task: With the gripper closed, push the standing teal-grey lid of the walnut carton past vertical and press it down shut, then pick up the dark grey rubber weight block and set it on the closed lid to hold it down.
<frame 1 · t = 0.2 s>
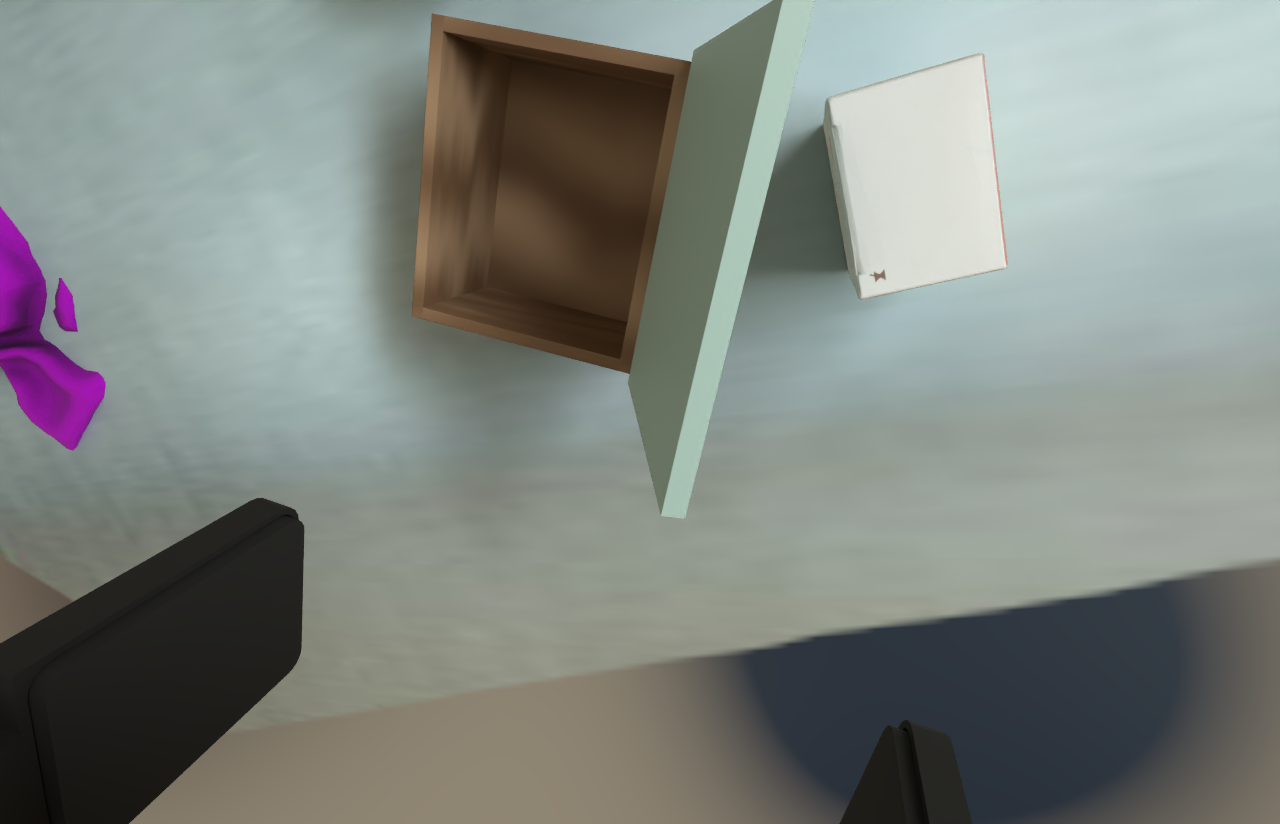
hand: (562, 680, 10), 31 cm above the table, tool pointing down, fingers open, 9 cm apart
small box: (888, 185, 35), on the table
cloth: (15, 308, 53), on the table
carton: (588, 199, 39), on the table
lid: (689, 256, 24), point 14 cm above the table, hinge at 110.0°
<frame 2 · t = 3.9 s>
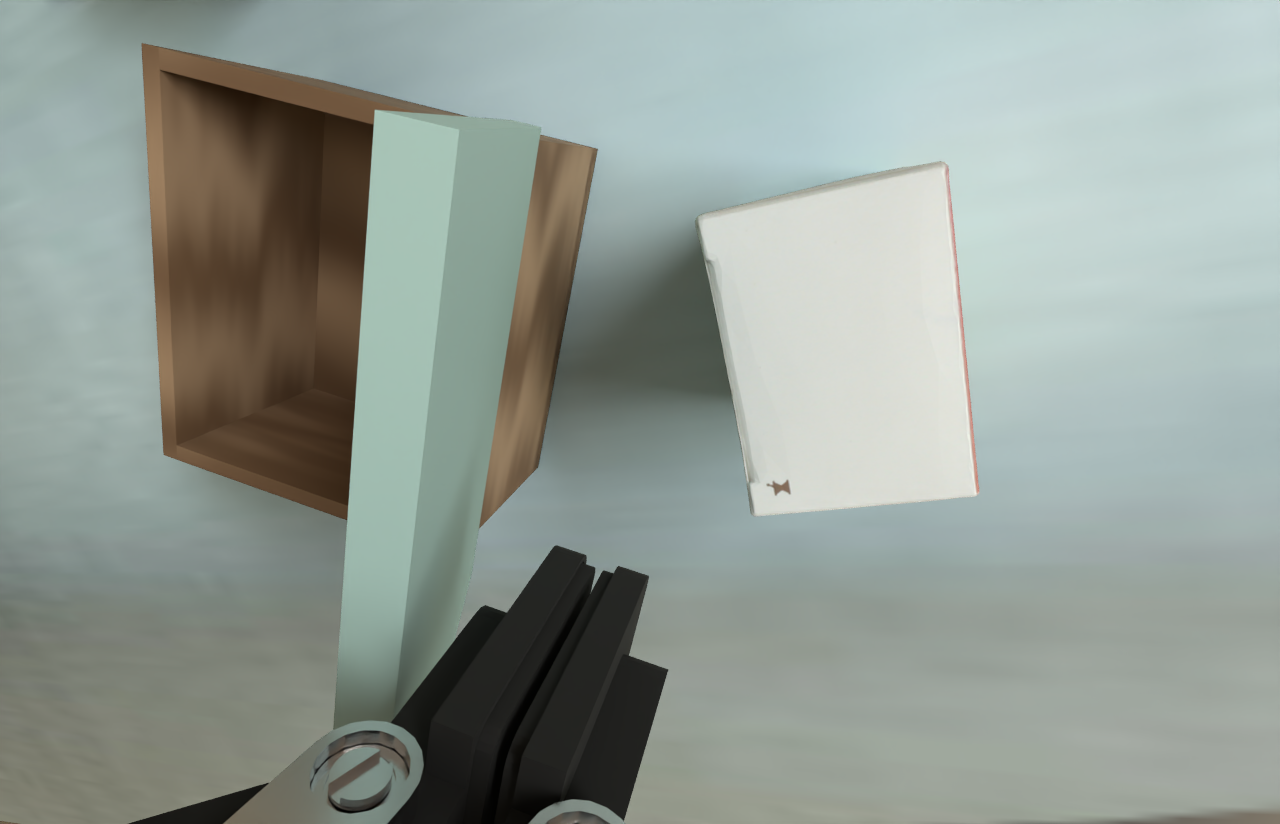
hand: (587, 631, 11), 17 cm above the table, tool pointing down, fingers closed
small box: (829, 292, 25), on the table
carton: (436, 285, 29), on the table
lid: (451, 473, 15), point 14 cm above the table, hinge at 108.3°, touching gripper
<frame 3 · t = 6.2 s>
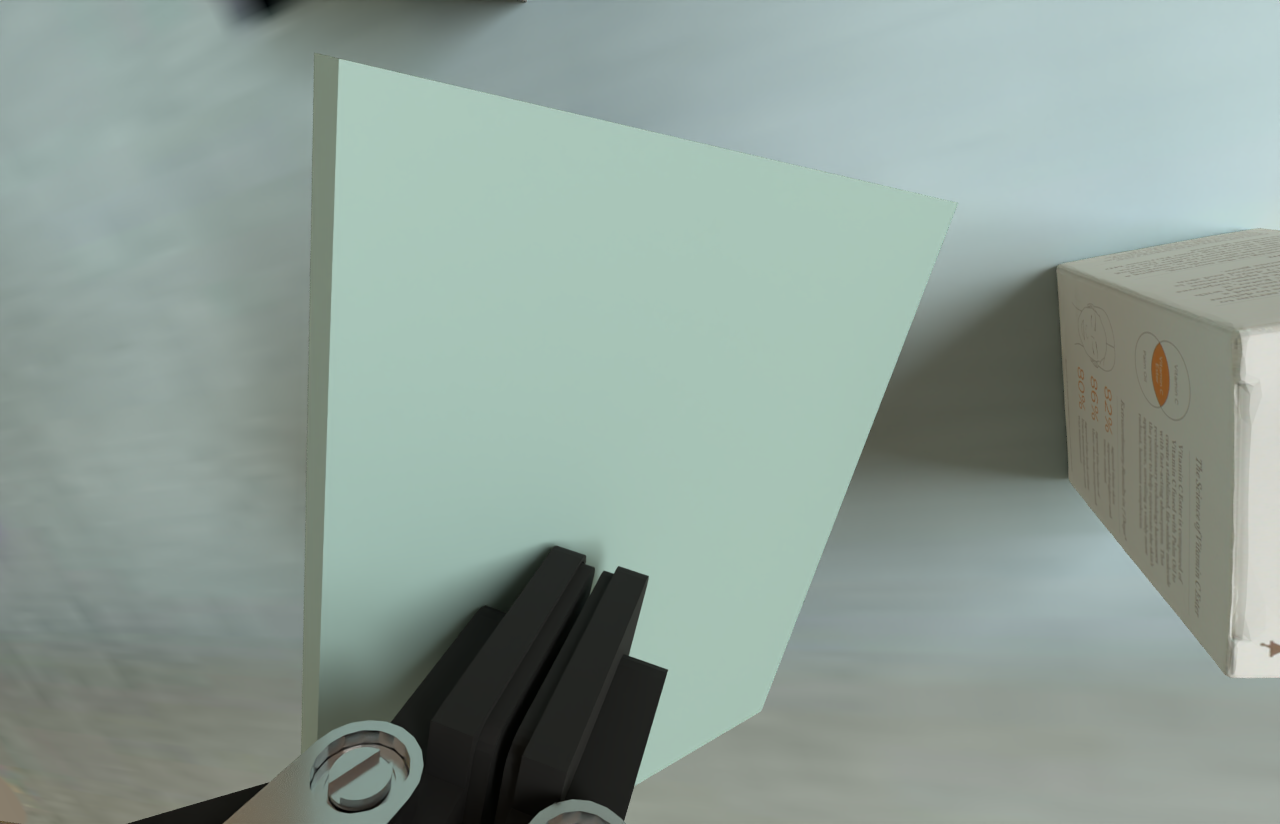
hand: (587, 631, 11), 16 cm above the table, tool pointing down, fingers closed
small box: (1150, 361, 22), on the table
lid: (649, 545, 13), point 13 cm above the table, hinge at 52.9°, touching gripper
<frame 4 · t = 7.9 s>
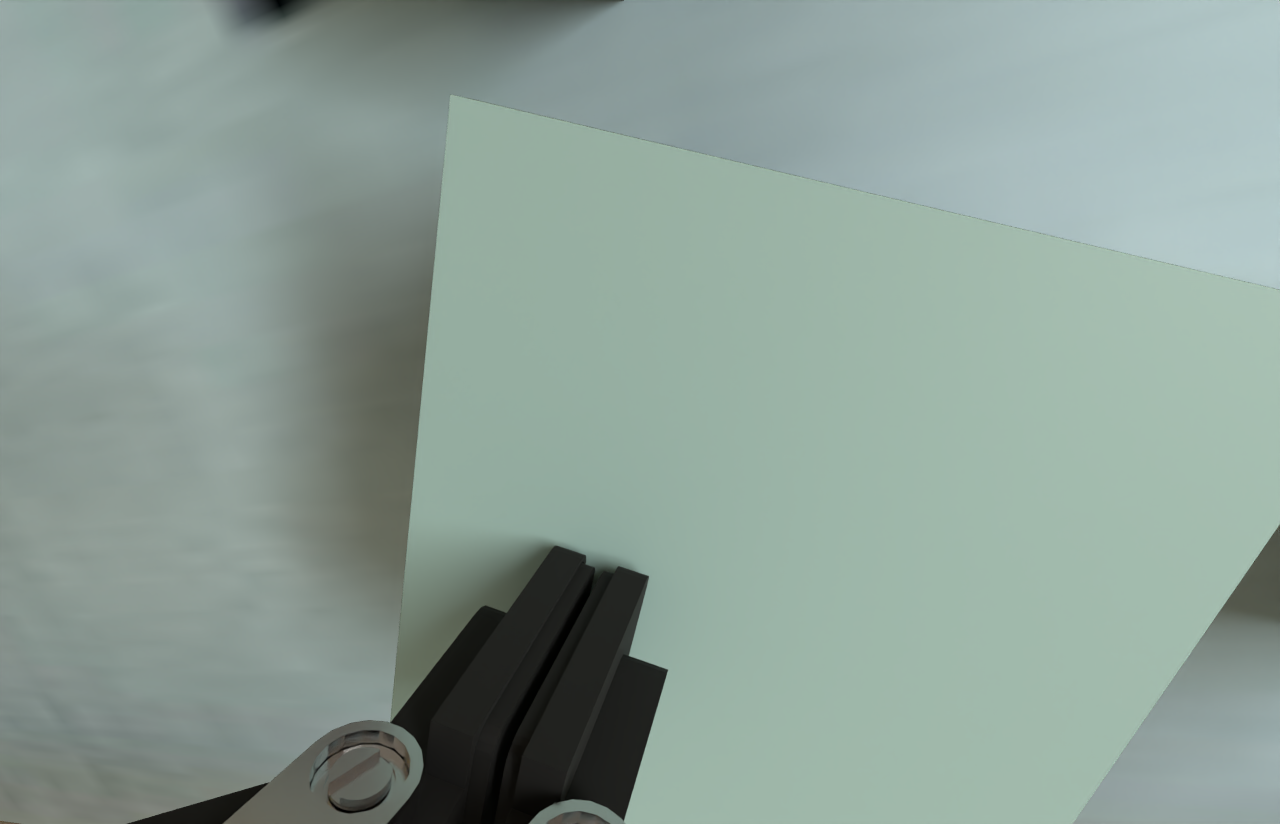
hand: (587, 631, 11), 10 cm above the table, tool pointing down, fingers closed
lid: (758, 638, 12), point 9 cm above the table, hinge at 7.5°
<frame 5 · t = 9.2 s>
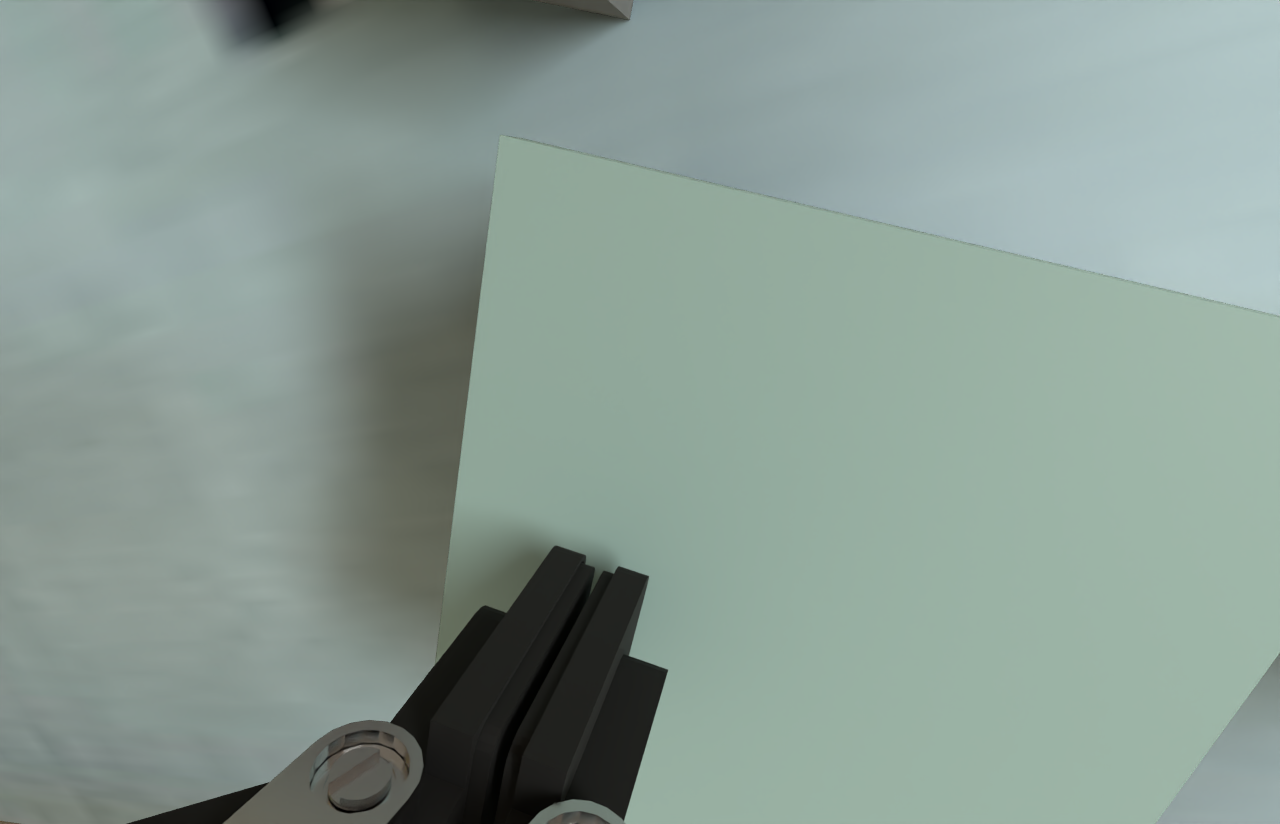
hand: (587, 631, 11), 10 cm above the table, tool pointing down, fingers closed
lid: (778, 658, 12), point 9 cm above the table, hinge at -0.1°
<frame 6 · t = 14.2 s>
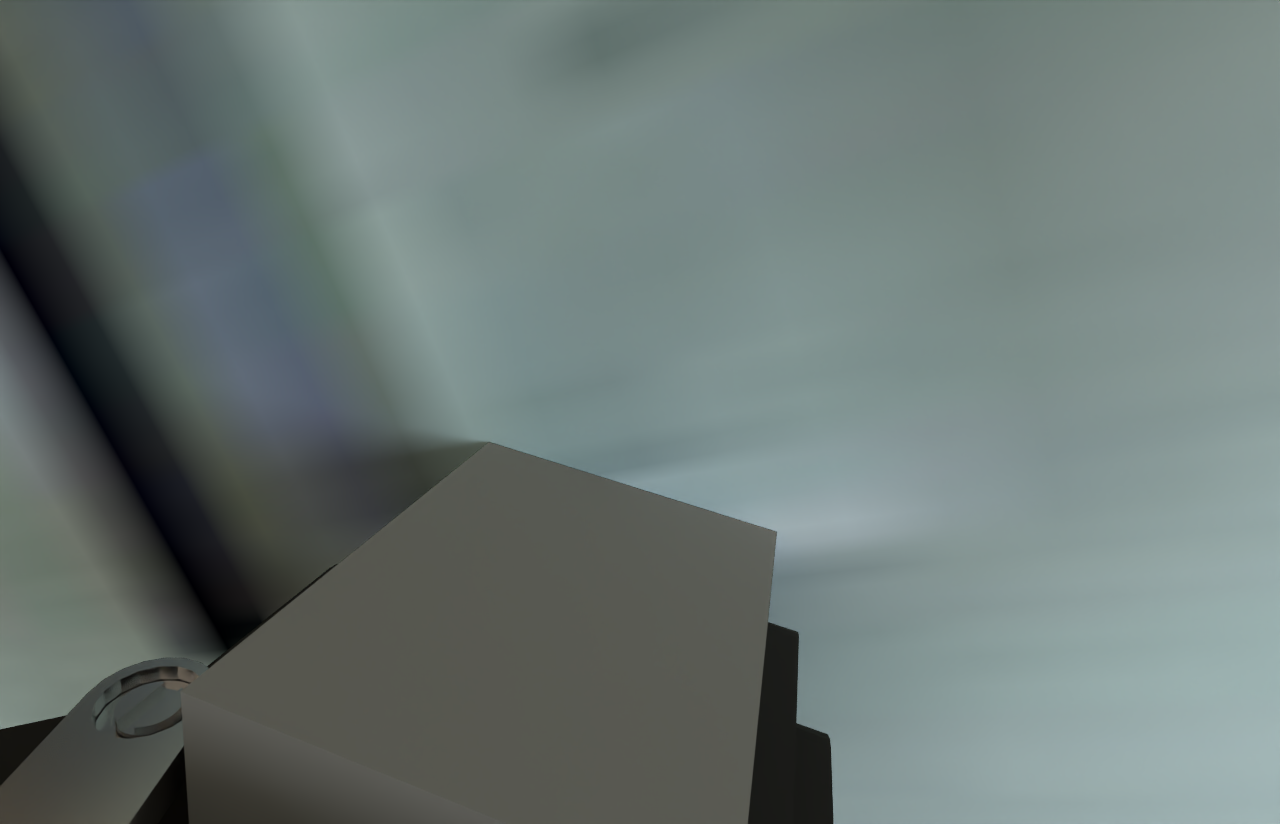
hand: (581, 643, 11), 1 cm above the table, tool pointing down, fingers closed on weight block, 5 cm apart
weight block: (599, 606, 12), on the table, touching gripper
when the fingers open (11 cm above the table, at t = 19.2 s): weight block stays where it is, resting on lid.
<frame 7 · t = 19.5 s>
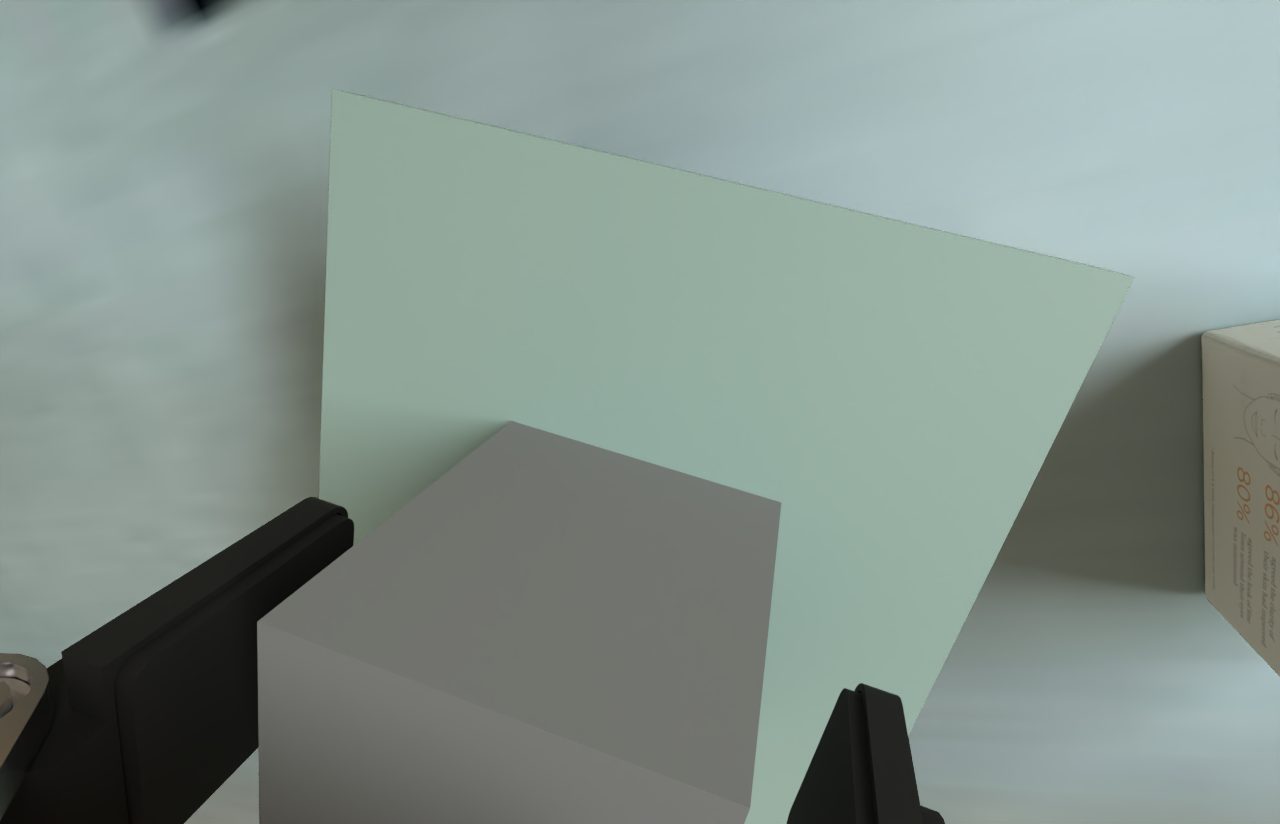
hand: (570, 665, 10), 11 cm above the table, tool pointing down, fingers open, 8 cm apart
weight block: (615, 576, 13), point 9 cm above the table, touching lid
lid: (608, 565, 13), point 9 cm above the table, hinge at -0.2°, touching weight block
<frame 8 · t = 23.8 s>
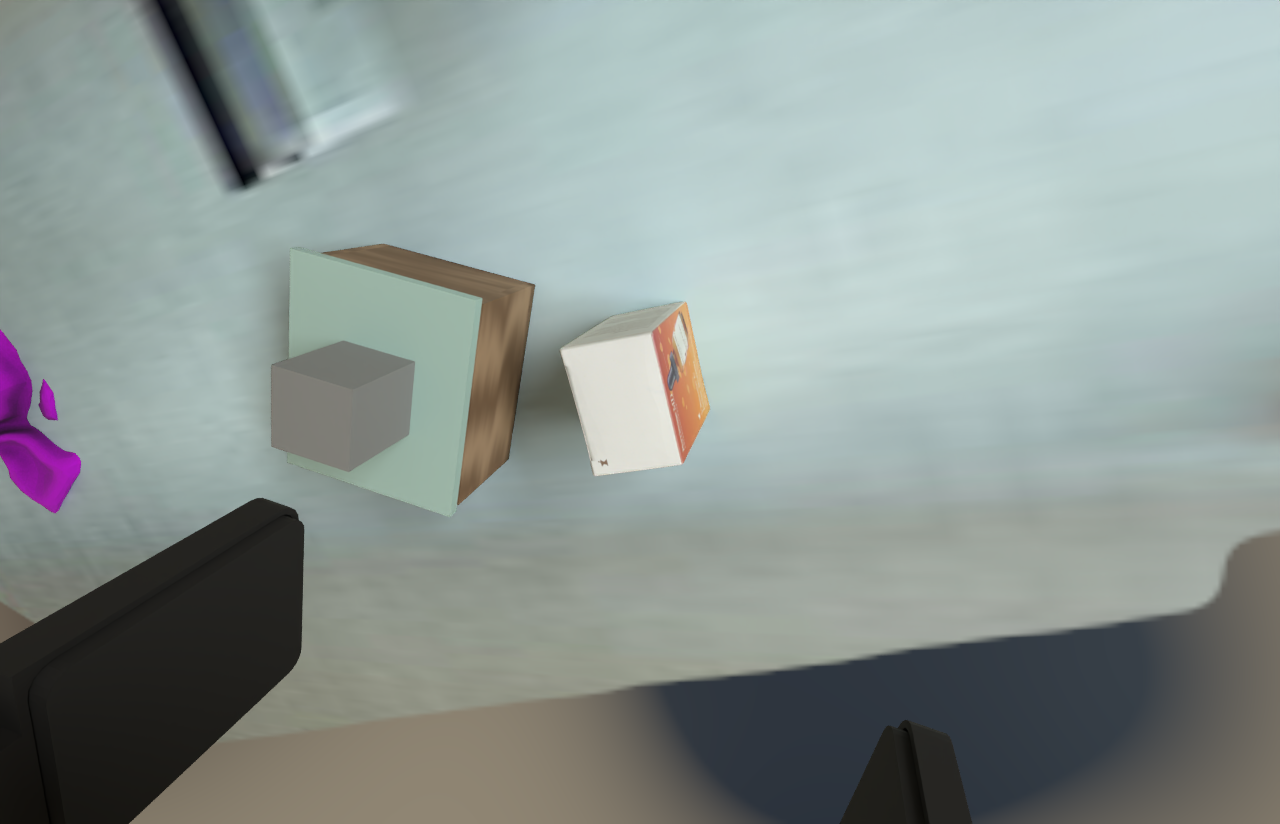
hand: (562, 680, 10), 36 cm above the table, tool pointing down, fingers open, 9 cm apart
small box: (661, 361, 47), on the table
cloth: (7, 399, 64), on the table
weight block: (376, 388, 42), point 9 cm above the table, touching lid
carton: (448, 355, 50), on the table
lid: (377, 386, 42), point 9 cm above the table, hinge at -0.2°, touching weight block
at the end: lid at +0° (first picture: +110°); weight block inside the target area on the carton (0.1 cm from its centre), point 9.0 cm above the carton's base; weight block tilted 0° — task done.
